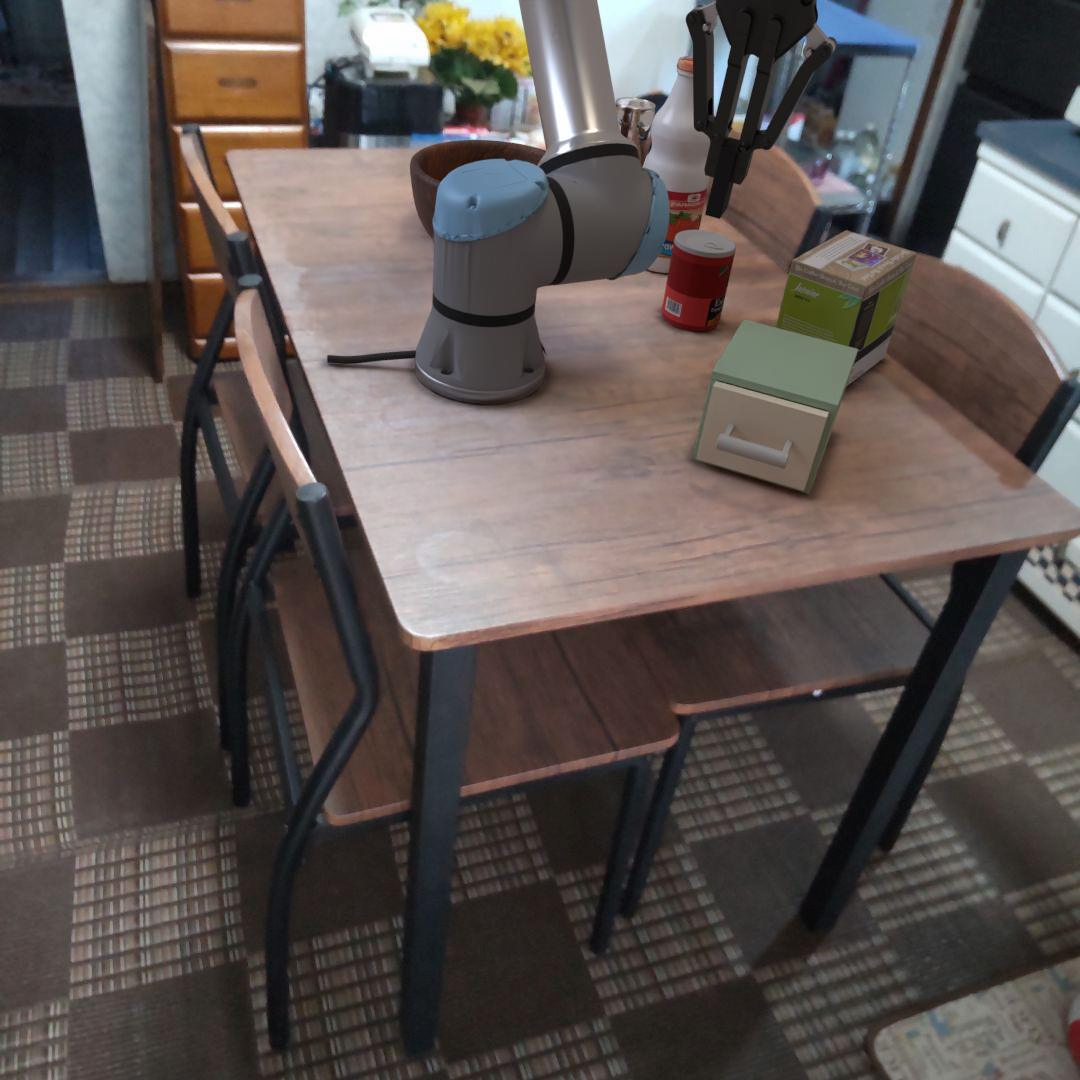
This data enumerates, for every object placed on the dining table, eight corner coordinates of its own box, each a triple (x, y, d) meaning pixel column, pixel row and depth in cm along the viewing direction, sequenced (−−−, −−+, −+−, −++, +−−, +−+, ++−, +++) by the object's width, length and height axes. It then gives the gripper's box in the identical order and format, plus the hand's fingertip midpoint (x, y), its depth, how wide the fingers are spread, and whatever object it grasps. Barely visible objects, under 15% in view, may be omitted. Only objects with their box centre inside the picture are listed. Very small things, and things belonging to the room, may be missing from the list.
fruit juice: (670, 246, 154) (706, 51, 137) (704, 271, 148) (745, 69, 131) (618, 252, 151) (648, 51, 133) (650, 277, 144) (686, 70, 127)
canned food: (717, 336, 131) (735, 256, 124) (657, 326, 132) (672, 246, 125) (720, 312, 137) (738, 235, 130) (663, 302, 138) (677, 225, 131)
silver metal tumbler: (596, 188, 172) (608, 96, 163) (633, 187, 174) (647, 97, 165) (610, 202, 167) (623, 109, 158) (648, 202, 169) (663, 109, 160)
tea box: (816, 332, 135) (847, 226, 126) (885, 360, 130) (922, 251, 121) (762, 368, 125) (791, 255, 116) (834, 399, 121) (870, 284, 112)
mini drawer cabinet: (809, 494, 104) (838, 405, 97) (692, 459, 107) (712, 370, 100) (831, 433, 114) (858, 348, 108) (723, 403, 117) (743, 319, 111)
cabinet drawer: (795, 513, 99) (819, 438, 94) (684, 479, 102) (701, 404, 97) (824, 434, 112) (847, 364, 106) (725, 406, 115) (742, 336, 109)
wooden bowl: (560, 279, 141) (569, 207, 134) (389, 252, 142) (389, 180, 136) (583, 218, 160) (591, 153, 154) (431, 195, 162) (433, 129, 156)
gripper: (875, -61, 80) (790, 215, 96) (720, -96, 82) (663, 178, 99) (858, -41, 74) (772, 247, 91) (694, -79, 77) (639, 207, 94)
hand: (716, 211), depth 95 cm, fingers closed
